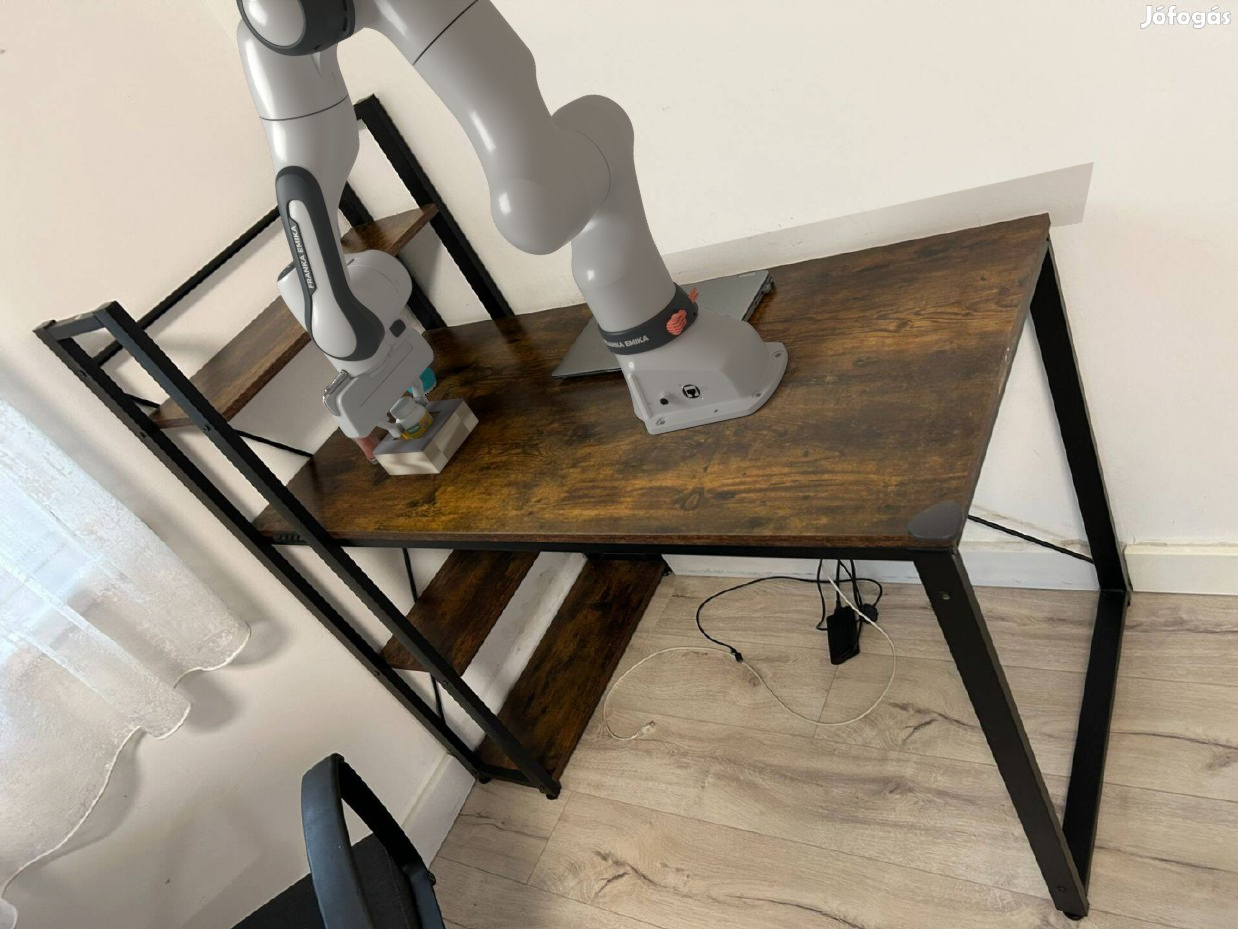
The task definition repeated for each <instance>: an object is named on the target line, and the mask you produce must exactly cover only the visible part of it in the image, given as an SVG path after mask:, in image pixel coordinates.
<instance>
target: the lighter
mask: <svg viewBox="0 0 1238 929" xmlns="http://www.w3.org/2000/svg"><path fill="white" fill-rule="evenodd" d="M351 440H352V441H353V442H354V443H355V444H357V446H359V448H360V449H361V450H362V451H363V453H364V454H365V456H366V458H367V459H368V460H369V462H370V463H371V464H373V465H376V464H378V463H380V462H379V461H378V460H377V459H376V457H375V456H374V455H373V454H372V452H373V451H374V450H375V448H376V447H377V446H378V445H379V444H380V442H381V441H382V439H380V438H379V437H378V436H377V435H376V434H375V433H374V431H373V430H372V431H371V432H370V434H369V435H368V436H367V437H365V438H351Z"/></svg>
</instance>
